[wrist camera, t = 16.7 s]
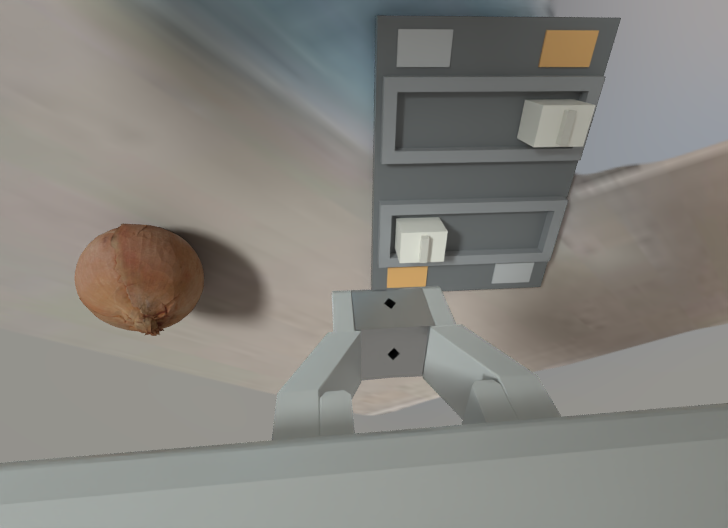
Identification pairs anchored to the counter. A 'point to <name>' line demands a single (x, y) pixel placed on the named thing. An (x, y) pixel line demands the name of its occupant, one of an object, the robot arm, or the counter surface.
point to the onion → (139, 278)
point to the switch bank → (476, 141)
